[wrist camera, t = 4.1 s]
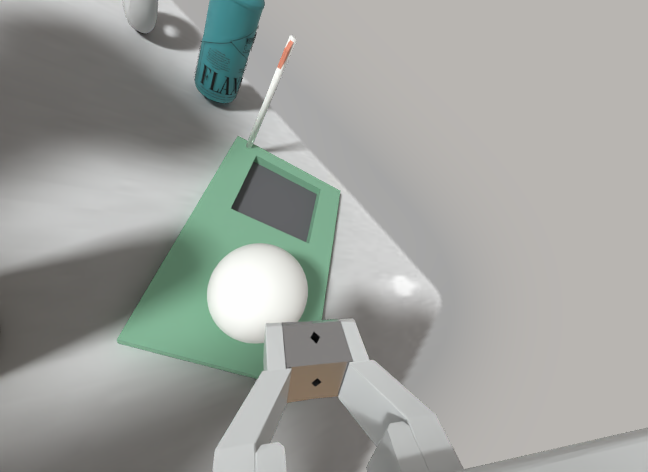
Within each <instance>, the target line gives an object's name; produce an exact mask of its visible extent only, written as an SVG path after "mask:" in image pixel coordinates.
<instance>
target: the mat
mask: <svg viewBox="0 0 648 472" xmlns="http://www.w3.org/2000/svg"><path fill="white" fill-rule="evenodd" d="M296 41H297V39H296V38H295V37H294V36H292V35H290V37H289V39H288V42H287V44H286V47H285V49H284V52H283V54H282V57H281V59H280V62H279V64H278V67H277V69H276V72H275V74H274V77H273V79H272V82H271V84H270V87H269V89H268V92H267V94H266V97H265V99H264V102H263V104H262V107H261V109H260V112H259V114H258V117H257V119H256V122H255V124H254V127H253V129H252V132H251V134H250V137H249V139H248V141H247V140H245V139H243V138H241V137H239V136H238V137H237V138H236V140H235V142H234V143H233V145H232V147H231V148H230V150H229V152H228V153H227V155H226V157H225V158H224V160H223V162H222V163H221V165H220V167H219V169H218V170H217V172H216V174H215V175H214V177H213V179H212V180H211V182H210V184H209V185H208V187H207V189H206V190H205V192H204V194H203V195H202V197H201V199H200V201H199V202H198V204H197V206H196V207H195V209H194V211H193V212H192V214H191V216H190V217H189V219H188V221H187V222H186V224H185V226H184V227H183V229H182V231H181V232H180V234H179V236H178V238H177V239H176V241H175V243H174V244H173V246H172V248H171V249H170V251H169V253H168V254H167V256H166V258H165V259H164V261H163V263H162V264H161V266H160V268H159V270H158V271H157V273H156V275H155V276H154V278H153V280H152V281H151V283H150V285H149V286H148V288H147V290H146V291H145V293H144V295H143V296H142V298H141V300H140V302H139V303H138V305H137V307H136V308H135V310H134V312H133V313H132V315H131V317H130V318H129V320H128V322H127V323H126V325H125V327H124V328H123V330H122V332H121V334H120V335H119V337H118V339H117V342H118V343H119V344H123V345H127V346H130V347H134V348H138V349H142V350H146V351H150V352H154V353H158V354H162V355H166V356H169V357H173V358H177V359H181V360H185V361H189V362H193V363H197V364H201V365H204V366H208V367H212V368H216V369H220V370H224V371H228V372H232V373H236V374H240V375H243V376H247V377H251V378H255V379H258V377H259V376H260V374H261V372H262V371H264V364H263V358H264V343H258V344H253V343H244V342H241V341H238V340H235V339H233V338H231V337H230V336H228V335H227V334H225V333H224V332H223V331H222V330H221V329H220V328H219V327H218V326H217V325H216V323H215V322H214V320H213V319H212V316H211V314H210V312H209V308H208V303H207V288H208V283H209V280H210V277H211V275H212V273H213V271H214V269H215V268H216V266H217V265H218V263H219V262H220V261H221V260H222V259H223V258H224V257H225V256H226V255H227V254H229V253H230V252H232V251H233V250H235V249H237V248H239V247H242V246H245V245H248V244H255V243H265V244H271V245H274V246H277V247H280V248H282V249H284V250H286V251H287V252H288V253H290V254H291V255H292V256H293V257H294V258H295V259H296V260H297V261H298V262H299V264H300V265H301V267H302V269H303V271H304V273H305V276H306V279H307V284H308V298H307V303H306V306H305V309H304V312H303V314H302V316H301V318H300V319H299V321H298V322H309V321H316V320H322V314H323V307H324V300H325V294H326V287H327V280H328V273H329V266H330V259H331V252H332V245H333V238H334V232H335V225H336V218H337V211H338V204H339V197H340V190H338V189H336V188H334V187H332V186H330V185H329V184H327V183H325V182H323V181H321V180H319V179H317V178H316V177H314V176H312V175H310V174H308V173H306V172H304V171H303V170H301V169H299V168H297V167H295V166H293V165H291V164H290V163H288V162H286V161H284V160H282V159H280V158H278V157H276V156H275V155H273V154H271V153H269V152H267V151H265V150H263V149H262V148H260V147H258V146H256V145H254V144H253V142H254V140H255V138H256V135H257V133H258V131H259V128H260V126H261V124H262V121H263V119H264V116H265V114H266V112H267V109H268V107H269V105H270V102H271V100H272V98H273V95H274V93H275V90H276V88H277V86H278V83H279V81H280V79H281V76H282V74H283V71H284V69H285V67H286V64H287V62H288V60H289V57H290V55H291V53H292V50H293V47H294V45H295V43H296Z"/></svg>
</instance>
